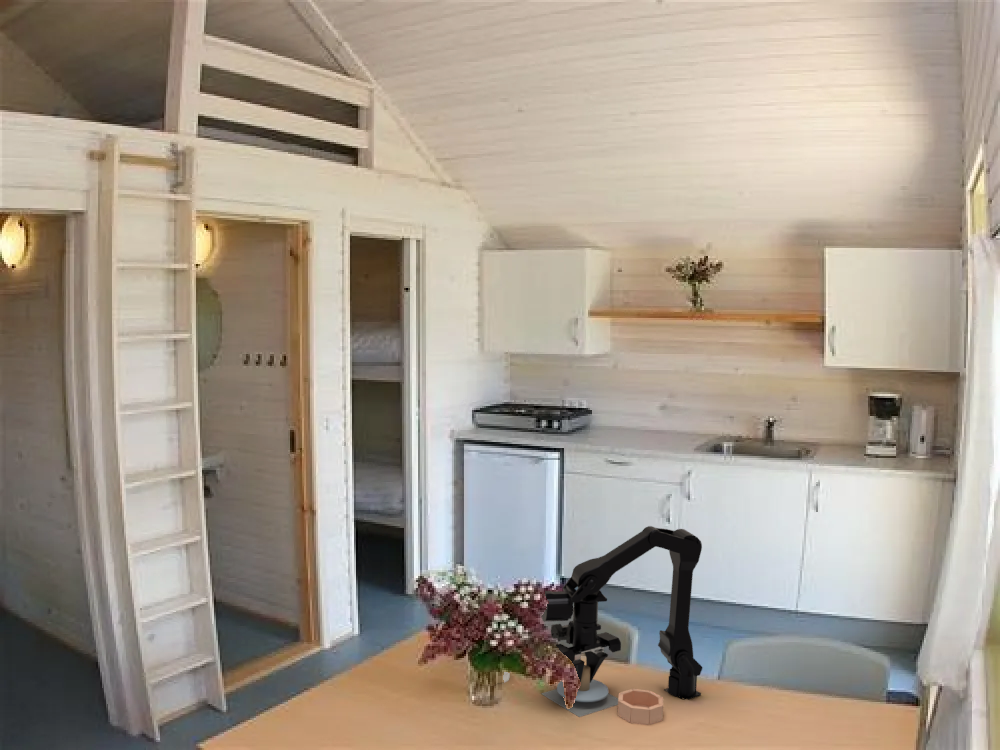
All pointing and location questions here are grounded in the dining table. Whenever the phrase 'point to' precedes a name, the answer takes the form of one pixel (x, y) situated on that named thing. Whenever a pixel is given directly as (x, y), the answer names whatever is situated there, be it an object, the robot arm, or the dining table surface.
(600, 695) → the lid
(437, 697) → the dining table surface
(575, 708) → the mat
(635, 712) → the bowl
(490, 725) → the dining table surface
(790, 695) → the dining table surface
